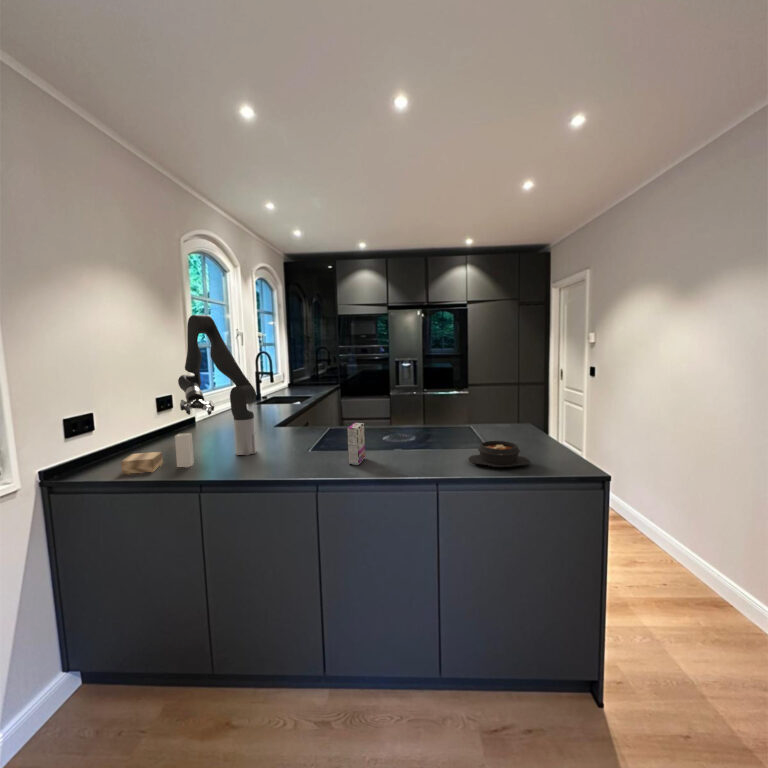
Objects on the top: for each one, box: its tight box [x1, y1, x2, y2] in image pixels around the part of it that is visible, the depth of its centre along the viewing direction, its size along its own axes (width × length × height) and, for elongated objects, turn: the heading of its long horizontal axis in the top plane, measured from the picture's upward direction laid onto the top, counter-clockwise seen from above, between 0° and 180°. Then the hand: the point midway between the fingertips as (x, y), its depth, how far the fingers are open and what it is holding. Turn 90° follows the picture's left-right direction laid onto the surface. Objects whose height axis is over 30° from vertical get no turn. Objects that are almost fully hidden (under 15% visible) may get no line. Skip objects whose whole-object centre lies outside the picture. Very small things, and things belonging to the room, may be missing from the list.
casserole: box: [467, 440, 531, 468], centre depth 168 cm, size 25×19×8 cm
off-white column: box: [174, 432, 195, 468], centre depth 177 cm, size 6×6×14 cm
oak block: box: [120, 451, 164, 475], centre depth 174 cm, size 12×12×6 cm
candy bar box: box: [346, 422, 366, 464], centre depth 176 cm, size 11×5×16 cm, turn 168°
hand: (199, 413), depth 183 cm, fingers open, 8 cm apart
